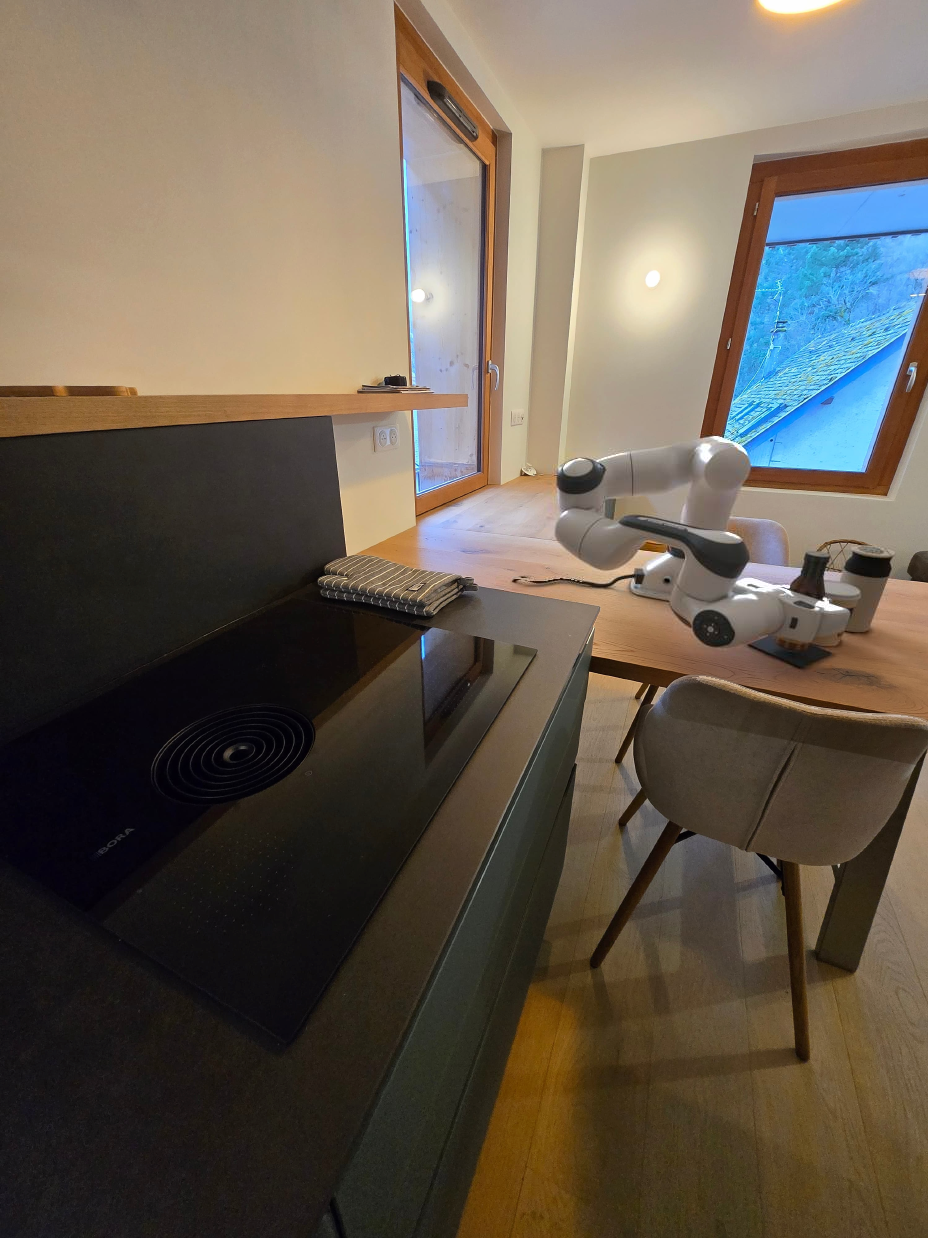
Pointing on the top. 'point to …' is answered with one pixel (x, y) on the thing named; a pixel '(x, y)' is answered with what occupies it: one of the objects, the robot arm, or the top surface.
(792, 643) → the sauce bottle
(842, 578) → the travel mug
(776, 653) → the coaster
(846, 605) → the coffee cup
